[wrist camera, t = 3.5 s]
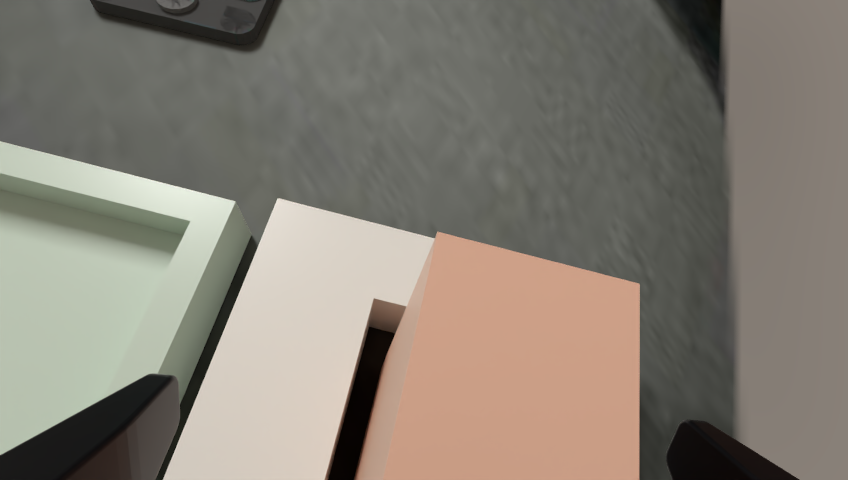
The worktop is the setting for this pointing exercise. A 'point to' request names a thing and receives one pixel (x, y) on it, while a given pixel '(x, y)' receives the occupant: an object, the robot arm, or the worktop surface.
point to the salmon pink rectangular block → (508, 373)
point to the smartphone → (196, 16)
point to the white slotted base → (296, 346)
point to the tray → (101, 284)
